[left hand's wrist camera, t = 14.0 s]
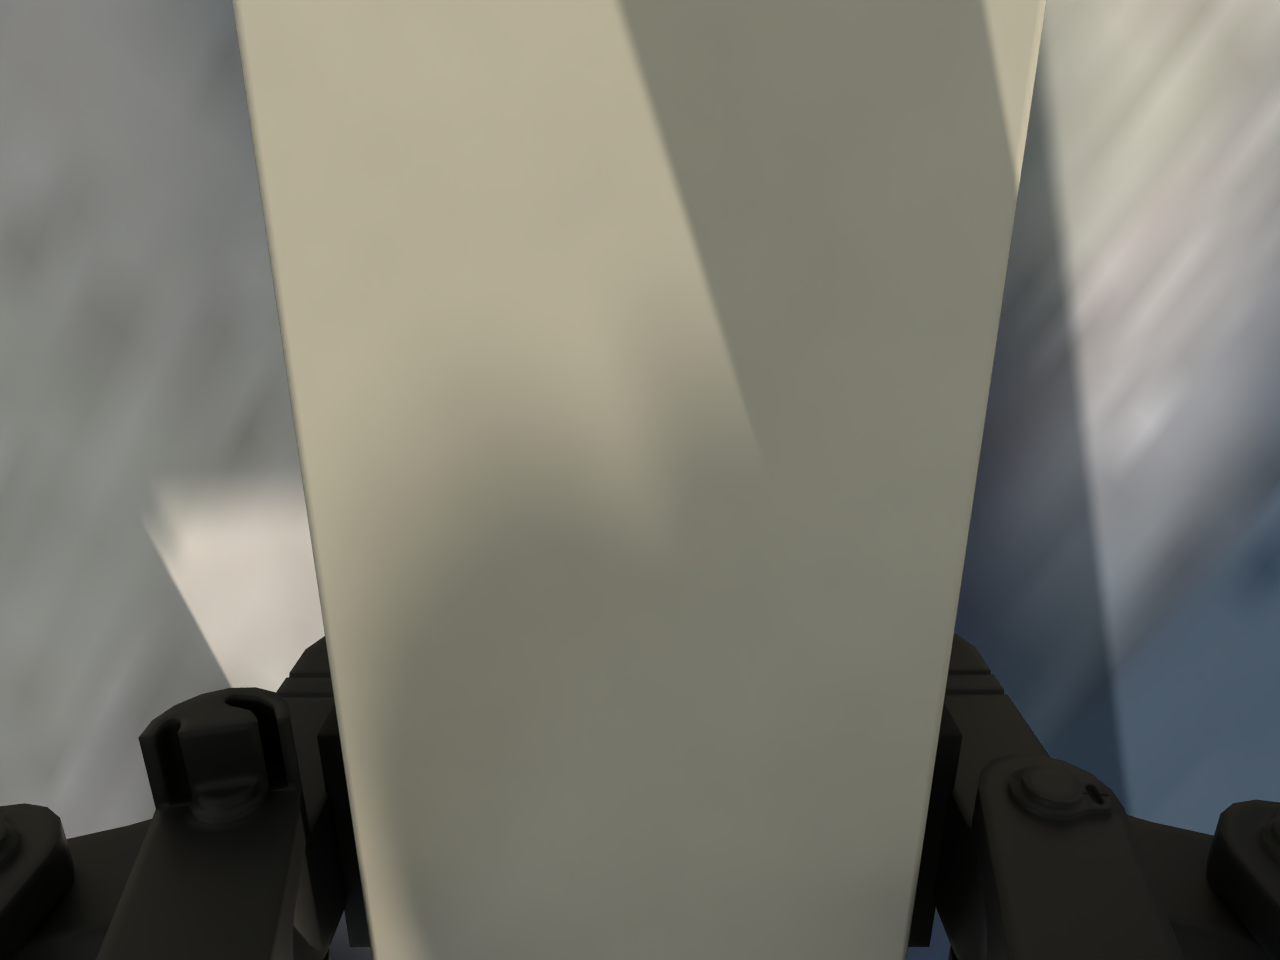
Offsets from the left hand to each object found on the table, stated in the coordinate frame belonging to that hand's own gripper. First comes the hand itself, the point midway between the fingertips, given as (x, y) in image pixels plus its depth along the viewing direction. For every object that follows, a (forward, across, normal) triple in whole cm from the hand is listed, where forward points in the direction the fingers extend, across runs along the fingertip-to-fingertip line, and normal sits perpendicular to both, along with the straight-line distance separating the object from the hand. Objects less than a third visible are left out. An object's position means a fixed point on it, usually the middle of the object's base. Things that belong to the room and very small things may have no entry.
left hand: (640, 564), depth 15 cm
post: (+1, 0, -27) cm, 27 cm away
